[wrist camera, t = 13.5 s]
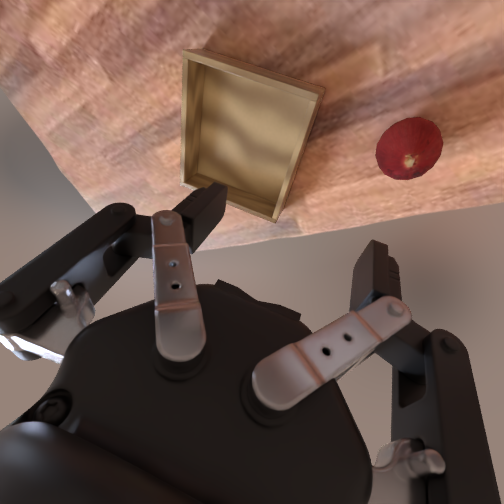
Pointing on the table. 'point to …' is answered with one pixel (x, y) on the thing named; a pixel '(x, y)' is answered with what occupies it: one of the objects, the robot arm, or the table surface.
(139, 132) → the table surface
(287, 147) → the tray
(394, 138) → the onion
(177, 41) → the table surface
